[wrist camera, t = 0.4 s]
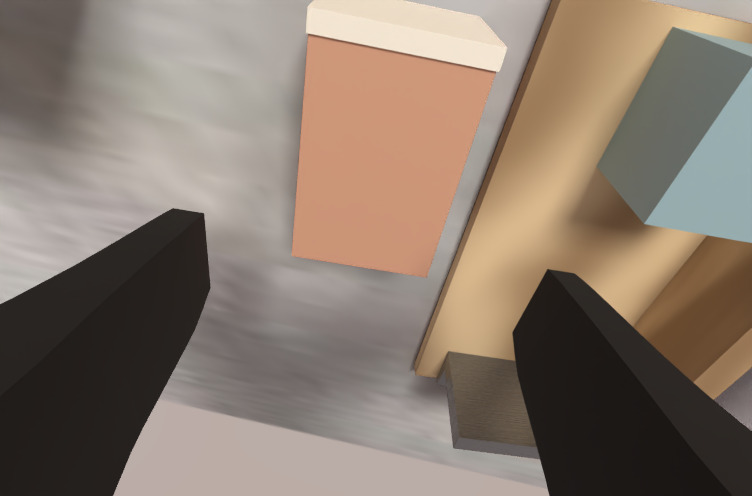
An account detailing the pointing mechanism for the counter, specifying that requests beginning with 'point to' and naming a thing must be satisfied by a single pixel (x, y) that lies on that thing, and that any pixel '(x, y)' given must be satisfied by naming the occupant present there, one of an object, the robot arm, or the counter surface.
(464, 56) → the boxed book
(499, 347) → the shelf
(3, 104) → the counter surface
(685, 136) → the pale blue cube
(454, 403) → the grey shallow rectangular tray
